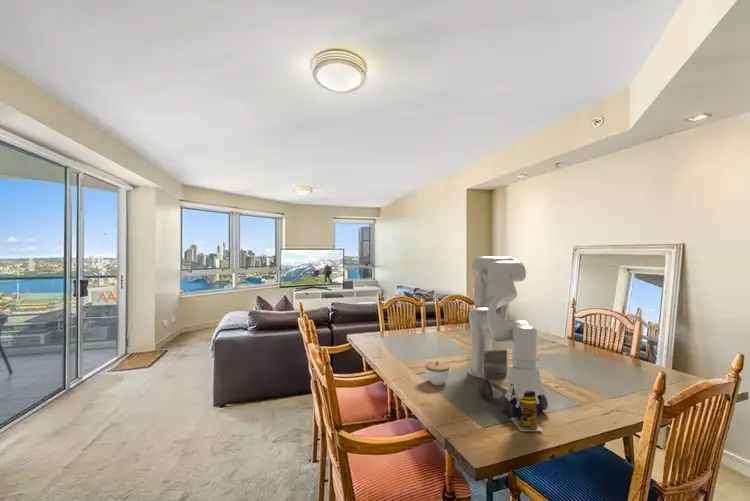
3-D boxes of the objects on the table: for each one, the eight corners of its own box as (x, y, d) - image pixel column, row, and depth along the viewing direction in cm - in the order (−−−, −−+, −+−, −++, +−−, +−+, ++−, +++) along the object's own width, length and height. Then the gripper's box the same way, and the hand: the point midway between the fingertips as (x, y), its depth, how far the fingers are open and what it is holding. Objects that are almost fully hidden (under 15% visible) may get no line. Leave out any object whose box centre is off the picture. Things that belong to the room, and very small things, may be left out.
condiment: (520, 431, 108) (520, 394, 108) (510, 418, 116) (509, 384, 116) (543, 431, 108) (543, 394, 108) (530, 418, 116) (530, 383, 116)
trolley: (478, 395, 136) (477, 351, 136) (509, 390, 140) (508, 348, 140) (512, 420, 116) (512, 368, 116) (547, 414, 120) (547, 364, 120)
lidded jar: (431, 388, 144) (431, 366, 144) (421, 379, 154) (421, 359, 154) (453, 385, 147) (453, 364, 147) (442, 376, 157) (442, 356, 157)
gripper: (537, 356, 118) (537, 407, 118) (495, 361, 113) (496, 414, 113) (554, 363, 111) (554, 417, 111) (510, 369, 106) (511, 425, 106)
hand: (525, 415), depth 112 cm, fingers closed on condiment, 6 cm apart
